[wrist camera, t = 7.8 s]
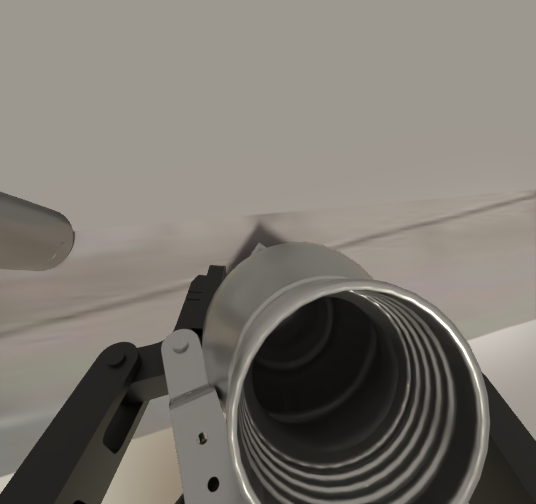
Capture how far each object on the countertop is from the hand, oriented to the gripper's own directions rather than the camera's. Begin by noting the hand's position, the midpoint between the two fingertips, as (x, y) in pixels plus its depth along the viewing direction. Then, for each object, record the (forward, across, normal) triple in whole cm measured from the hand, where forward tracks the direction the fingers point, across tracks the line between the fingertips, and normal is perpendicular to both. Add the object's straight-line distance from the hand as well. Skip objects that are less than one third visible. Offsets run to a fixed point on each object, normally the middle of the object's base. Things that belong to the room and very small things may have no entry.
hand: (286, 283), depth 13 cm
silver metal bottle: (+7, 0, +9) cm, 11 cm away
